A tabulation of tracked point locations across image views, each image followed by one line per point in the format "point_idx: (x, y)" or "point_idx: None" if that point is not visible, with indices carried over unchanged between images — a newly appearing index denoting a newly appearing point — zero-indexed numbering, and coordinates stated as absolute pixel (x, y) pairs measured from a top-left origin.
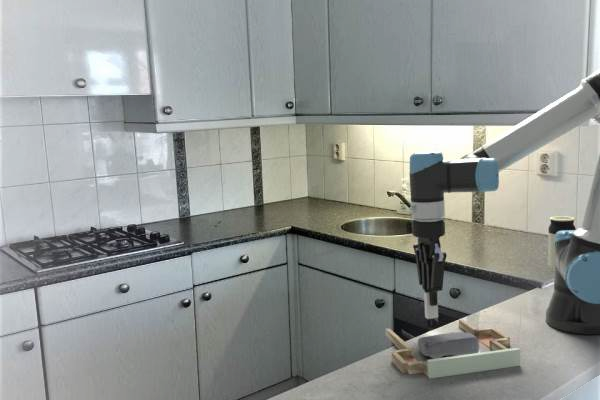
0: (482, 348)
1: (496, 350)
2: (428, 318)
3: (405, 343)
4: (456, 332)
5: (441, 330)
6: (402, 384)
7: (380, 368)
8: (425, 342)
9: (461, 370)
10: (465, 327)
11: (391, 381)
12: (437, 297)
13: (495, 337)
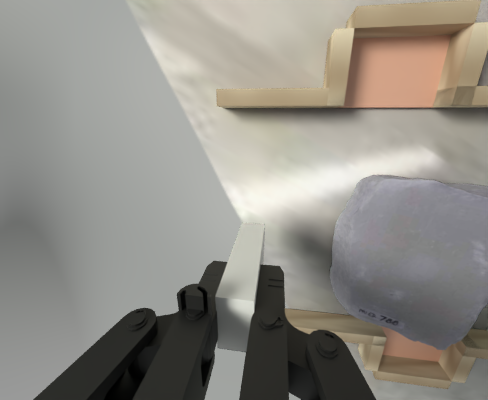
0: (413, 128)
1: None
2: (263, 258)
3: (337, 333)
4: (374, 206)
5: (226, 170)
6: (480, 388)
7: (385, 384)
8: (423, 340)
9: None
10: (267, 106)
11: (453, 395)
12: (258, 274)
13: (377, 35)
